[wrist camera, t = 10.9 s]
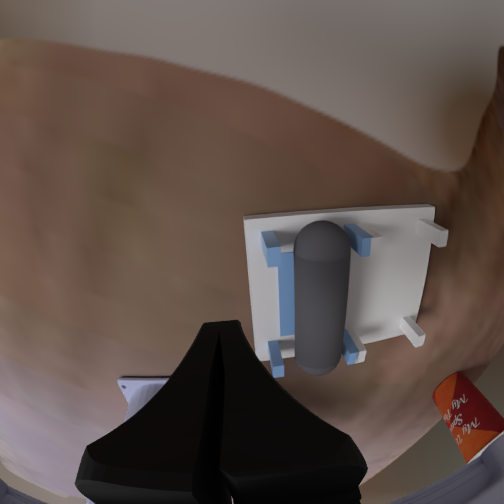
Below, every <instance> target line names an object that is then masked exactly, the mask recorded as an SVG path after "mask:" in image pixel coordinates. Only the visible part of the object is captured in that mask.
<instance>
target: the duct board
mask: <svg viewBox="0 0 504 504" xmlns="http://www.w3.org/2000/svg"><path fill="white" fill-rule="evenodd" d="M434 215H435V207H434V206H432V205H429V204H414V205H390V206H370V207H353V208H337V209H322V210H308V211H295V212H283V213H271V214H260V215H249V216H243V219H244V231H245V242H246V254H247V265H248V276H249V288H250V299H251V310H252V321H253V332H254V343H255V354H256V356H257V357H258V359H259V360H260V361H266V360H270V364H271V369H272V374H273V378H277V377H284V363H283V359H282V358H288V357H295V308H294V254H293V248H294V242H295V239H296V237H297V235H298V233H299V232H300V230H301V229H302V228H303V227H305V226H306V225H307V224H309V223H311V222H314V221H320V220H325V221H330V222H333V223H335V224H337V225H338V226H340V227H341V228H342V229H343V230H344V231H345V232H346V234H347V236H348V238H349V241H350V244H351V260H350V276H349V289H348V301H347V311H346V321H345V330H344V338H343V346H342V354H343V356H344V358H345V360H346V362H347V364H348V365H351V364H355V363H359V362H364V360H365V355H366V349H365V347H364V345H363V344H366V343H370V342H375V341H379V340H383V339H387V338H391V337H395V336H399V335H403V334H405V335H406V336H407V338H408V339H409V340H410V341H411V343H412V344H413V345H414V346H415V348H416V347H419V346H422V345H423V343H424V340H425V336H426V334H425V333H424V332H423V330H422V329H421V328H420V327H419V326H418V325H417V324H416V319H417V315H418V311H419V307H420V302H421V298H422V293H423V288H424V283H425V278H426V273H427V267H428V261H429V255H430V248H431V243H432V244H434V245H436V246H437V247H445V246H446V244H447V238H448V230H447V229H445V228H443V227H441V226H439V225H437V224H435V223H434Z"/></svg>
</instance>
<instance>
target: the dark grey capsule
mask: <svg viewBox="0 0 504 504" xmlns="http://www.w3.org/2000/svg"><path fill="white" fill-rule="evenodd" d="M293 254H294V308H295V360H296V362H297V365H298V366H299V367H300V368H301V369H302V370H303V371H304V372H305V373H308V374H310V375H315V376H320V375H324V374H327V373H329V372H331V371H332V370H333V369H334V368H335V367H336V366H337V364H338V363H339V361H340V358H341V353H342V346H343V338H344V330H345V321H346V311H347V301H348V289H349V276H350V260H351V244H350V241H349V238H348V236H347V234H346V232H345V231H344V230H343V229H342V228H341V227H340V226H338V225H337V224H335V223H333V222H330V221H325V220H320V221H314V222H311V223H309V224H307V225H306V226H305V227H303V228H302V229H301V230H300V232H299V233H298V235H297V237H296V239H295V242H294V248H293Z"/></svg>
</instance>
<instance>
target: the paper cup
mask: <svg viewBox="0 0 504 504" xmlns="http://www.w3.org/2000/svg"><path fill="white" fill-rule="evenodd" d="M433 399H434V401H435V403H436V405H437V407H438V409H439V411H440V413H441V415H442V416H443V418H444V420H445V422H446V424H447V426H448V428H449V429H450V431H451V433H452V435H453V437H454V439H455V441H456V443H457V445H458V447H459V449H460V451H461V453H462V455H463V457H464V459H465V461H466V463H467V464H468V463H470V462H471V461H473V460H474V459H476V458H478V457H479V456H481V454H482V452H483V451H484V450H485V449H486V448H487V447H488V446H489V445H490V444H491V443H492V442H493V441H495V440H496V439H497V438H498V437H500V436H501V435H503V434H504V418H503V417H502V416H501V415H500V414H499V413H498V411H497V410H496V409H495V408H494V407H493V406H492V404H491V403H490V402H489V401H488V400H487V399H486V398H485V397H484V396H483V395H482V393H481V392H480V391H479V390H478V389H477V388H476V387H475V386H474V385H473V384H472V382H471V381H470V380H469V379H468V378H467V377H466V376H465V375H464V374H463V373H461V372H456V373H454V374H452V375H450V376H449V377H447V378H446V379H445V380H444V381H443V382H442V383H441V384H440V385H439V386H438V387H437V388H436V390H435V392H434V394H433Z"/></svg>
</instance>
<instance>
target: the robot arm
mask: <svg viewBox="0 0 504 504" xmlns="http://www.w3.org/2000/svg"><path fill="white" fill-rule="evenodd" d="M117 382H118V385H119V387H120V388H121V390H122V392H123V394H124V396H125V398H126V400H127V402H128V403H129V406H128V409H127V413H126V417H125V420H124V423H123V424H121V425H120V426H119V427H117V428H116V429H114V430H113V431H111V432H110V433H108V434H106V435H105V436H103V437H101V438H100V439H98V440H96V441H95V442H93V443H91V444H89V445H87V447H86V449H85V451H84V454H83V456H82V459H81V463H80V466H79V470H78V473H77V477H76V481H75V485H76V487H77V489H78V490H79V491H80V492H81V493H82V494H83V495H84V496H85V497H87V502H86V504H232V499H231V496H232V498H233V503H234V504H361V503H360V499H361V494H360V490H359V487H358V486H359V484H360V483H361V481H362V479H363V478H364V476H365V475H366V473H367V470H368V467H367V464H366V461H365V459H364V457H363V455H362V454H361V452H360V450H359V449H358V447H357V445H356V444H355V443H354V441H353V440H352V438H351V437H350V436H349V435H348V434H346V433H344V432H342V431H340V430H338V429H337V428H335V427H333V426H331V425H330V424H328V423H327V422H325V421H323V420H322V419H320V418H319V417H318V416H316V415H315V414H313V413H312V412H310V411H309V410H308V409H307V408H305V407H304V406H303V405H302V404H300V403H299V402H298V401H297V400H296V399H294V398H293V397H292V396H291V395H290V394H289V393H288V392H287V391H286V390H285V389H284V388H282V386H281V385H280V384H279V383H278V382H277V381H276V380H275V379H274V378H273V377H272V376H271V374H270V373H269V372H268V371H267V369H266V368H265V367H264V366H263V364H262V363H261V362H260V360H259V359H258V357H257V356H256V354H255V353H254V351H253V349H252V348H251V346H250V344H249V343H248V341H247V339H246V337H245V335H244V332H243V330H242V327H241V322H239V321H238V320H230V321H219V322H208V323H204V324H203V325H202V326H201V328H200V330H199V332H198V334H197V336H196V338H195V340H194V342H193V343H192V345H191V347H190V349H189V350H188V352H187V353H186V355H185V357H184V358H183V360H182V361H181V363H180V364H179V366H178V367H177V368H176V370H175V371H174V373H173V374H172V375H171V377H170V378H119V379H118V381H117ZM0 504H47V503H45V502H42V501H40V500H38V499H35V498H33V497H31V496H28V495H26V494H24V493H22V492H20V491H18V490H16V489H14V488H12V487H10V486H8V485H7V484H6V483H5V482H4V481H3V480H1V479H0ZM387 504H504V434H503V435H501V436H500V437H498V438H497V439H496V440H495V441H493V442H492V443H491V444H490V445H489V446H488V447H487V448H486V449H485V450H484V451H483V452H482V454H481V456H479V457H478V458H476V459H474V460H473V461H471V462H470V463H468V464H467V465H465V466H463V467H462V468H460V469H458V470H456V471H455V472H453V473H451V474H449V475H448V476H446V477H444V478H442V479H440V480H438V481H436V482H434V483H433V484H431V485H429V486H426V487H424V488H422V489H420V490H418V491H416V492H414V493H412V494H409V495H407V496H405V497H402V498H400V499H397V500H395V501H393V502H390V503H387Z"/></svg>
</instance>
